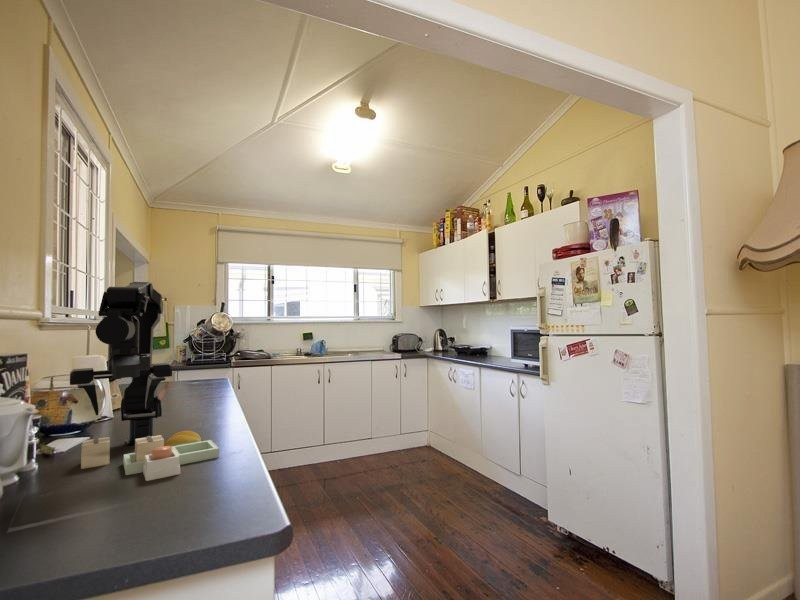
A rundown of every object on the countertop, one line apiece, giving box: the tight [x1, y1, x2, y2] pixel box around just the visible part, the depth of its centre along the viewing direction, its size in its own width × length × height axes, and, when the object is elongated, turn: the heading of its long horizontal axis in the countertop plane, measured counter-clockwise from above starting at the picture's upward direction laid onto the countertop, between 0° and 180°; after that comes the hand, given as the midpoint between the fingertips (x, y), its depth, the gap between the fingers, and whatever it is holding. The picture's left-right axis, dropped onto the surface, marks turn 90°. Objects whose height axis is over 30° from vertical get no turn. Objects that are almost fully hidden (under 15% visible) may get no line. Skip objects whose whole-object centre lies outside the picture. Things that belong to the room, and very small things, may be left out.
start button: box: [152, 446, 172, 461], centre depth 85 cm, size 4×4×2 cm
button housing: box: [142, 450, 181, 482], centre depth 84 cm, size 6×6×4 cm
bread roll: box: [164, 430, 202, 446], centre depth 104 cm, size 8×9×4 cm
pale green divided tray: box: [122, 439, 220, 476], centre depth 93 cm, size 9×18×2 cm, turn 127°
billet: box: [80, 436, 111, 470], centre depth 91 cm, size 5×5×6 cm
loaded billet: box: [134, 434, 165, 462], centre depth 90 cm, size 5×5×6 cm
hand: (122, 411), depth 91 cm, fingers open, 9 cm apart
